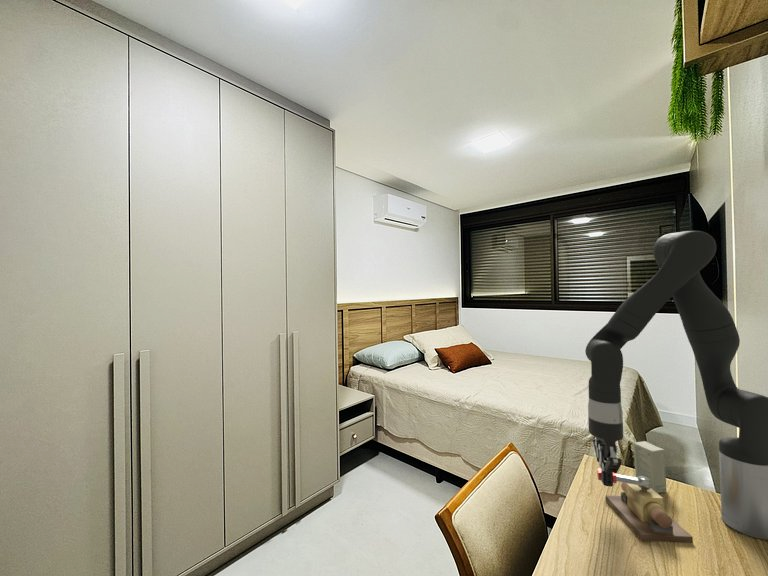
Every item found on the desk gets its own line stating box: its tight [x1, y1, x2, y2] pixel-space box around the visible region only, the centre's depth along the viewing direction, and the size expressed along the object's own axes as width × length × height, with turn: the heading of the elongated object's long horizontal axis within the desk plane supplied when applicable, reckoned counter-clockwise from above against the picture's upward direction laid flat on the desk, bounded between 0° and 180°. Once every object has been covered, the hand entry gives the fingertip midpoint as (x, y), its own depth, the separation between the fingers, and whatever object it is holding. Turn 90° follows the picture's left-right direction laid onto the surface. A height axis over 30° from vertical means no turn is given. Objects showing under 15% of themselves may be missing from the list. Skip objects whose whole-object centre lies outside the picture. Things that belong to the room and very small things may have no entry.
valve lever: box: [596, 467, 651, 490], centre depth 87 cm, size 11×3×2 cm, turn 63°
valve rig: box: [605, 482, 694, 544], centre depth 85 cm, size 15×11×8 cm
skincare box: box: [633, 440, 668, 494], centre depth 99 cm, size 6×4×12 cm
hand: (607, 484), depth 86 cm, fingers closed
